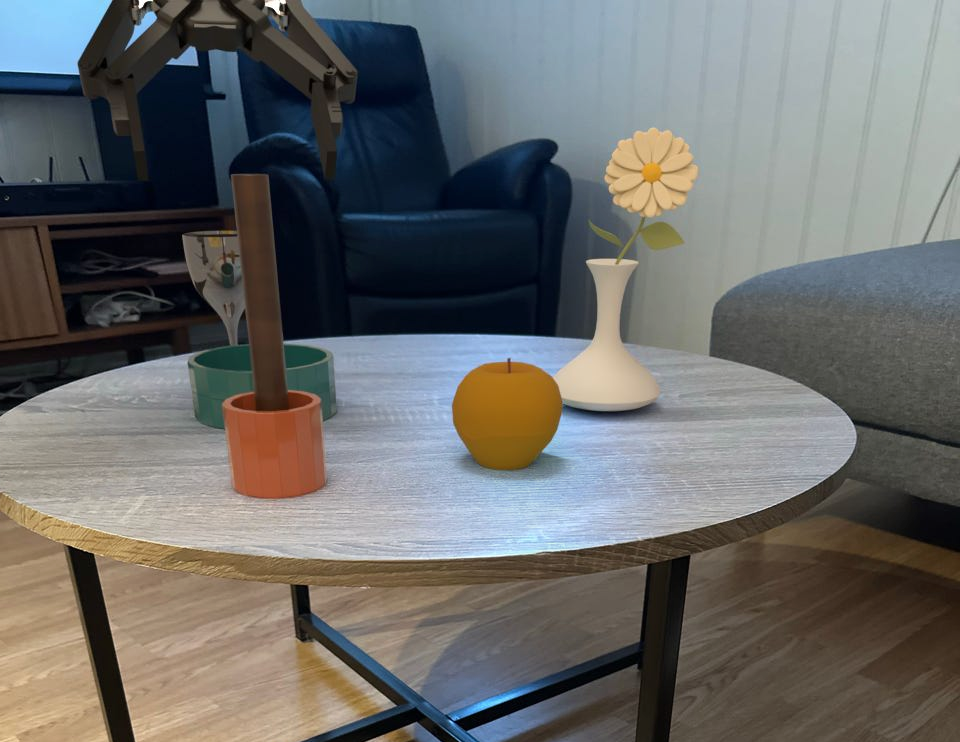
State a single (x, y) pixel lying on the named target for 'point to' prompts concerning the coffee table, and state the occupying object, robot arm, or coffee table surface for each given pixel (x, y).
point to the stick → (261, 290)
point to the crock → (275, 446)
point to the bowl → (232, 375)
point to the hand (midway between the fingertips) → (238, 166)
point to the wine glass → (217, 274)
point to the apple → (506, 413)
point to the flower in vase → (628, 271)
